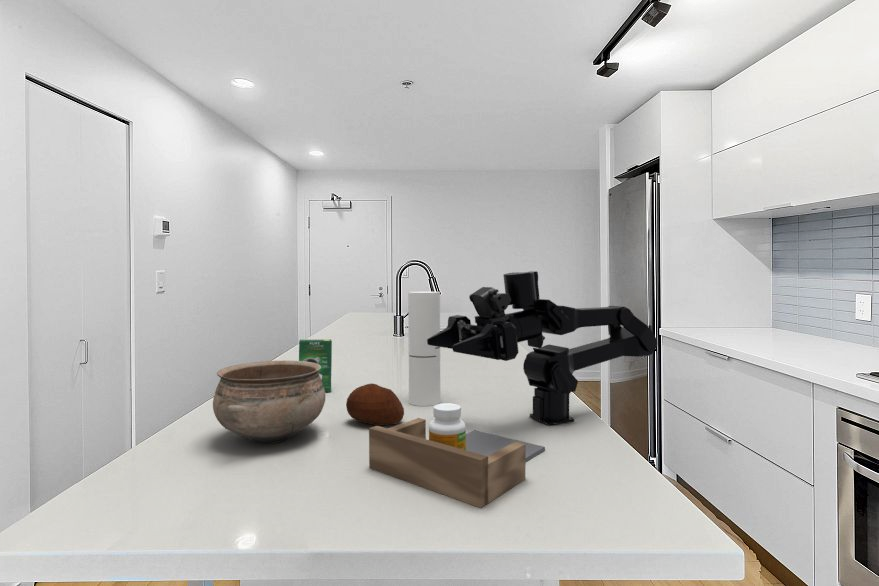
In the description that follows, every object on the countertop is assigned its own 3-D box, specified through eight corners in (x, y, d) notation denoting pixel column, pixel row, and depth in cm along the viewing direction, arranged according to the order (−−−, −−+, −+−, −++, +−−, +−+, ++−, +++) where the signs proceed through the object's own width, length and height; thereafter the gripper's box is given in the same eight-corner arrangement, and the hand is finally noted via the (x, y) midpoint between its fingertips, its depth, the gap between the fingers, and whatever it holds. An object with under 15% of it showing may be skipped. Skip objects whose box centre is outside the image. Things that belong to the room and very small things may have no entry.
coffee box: (332, 389, 124) (331, 338, 123) (332, 392, 121) (331, 339, 120) (299, 391, 122) (298, 339, 121) (298, 394, 119) (297, 340, 119)
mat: (474, 433, 89) (474, 429, 89) (544, 450, 81) (544, 446, 81) (434, 450, 81) (434, 447, 80) (508, 472, 72) (508, 468, 72)
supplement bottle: (462, 481, 69) (462, 412, 68) (425, 478, 70) (425, 410, 69) (468, 466, 74) (468, 402, 74) (433, 463, 75) (433, 400, 75)
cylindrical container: (446, 400, 113) (445, 291, 112) (429, 407, 107) (428, 292, 106) (420, 396, 116) (420, 291, 116) (402, 403, 110) (401, 292, 110)
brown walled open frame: (418, 447, 82) (418, 412, 82) (525, 478, 69) (525, 437, 69) (369, 467, 74) (368, 428, 73) (481, 508, 61) (480, 460, 61)
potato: (400, 431, 91) (400, 388, 91) (339, 429, 92) (339, 387, 92) (406, 419, 99) (406, 379, 98) (350, 417, 100) (350, 378, 99)
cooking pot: (256, 415, 101) (255, 356, 101) (345, 418, 99) (344, 358, 98) (176, 460, 77) (175, 383, 76) (291, 466, 74) (290, 386, 74)
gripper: (479, 285, 100) (410, 297, 92) (540, 287, 83) (462, 301, 76) (485, 338, 101) (418, 354, 94) (546, 351, 84) (470, 371, 77)
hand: (439, 345), depth 85 cm, fingers open, 9 cm apart
